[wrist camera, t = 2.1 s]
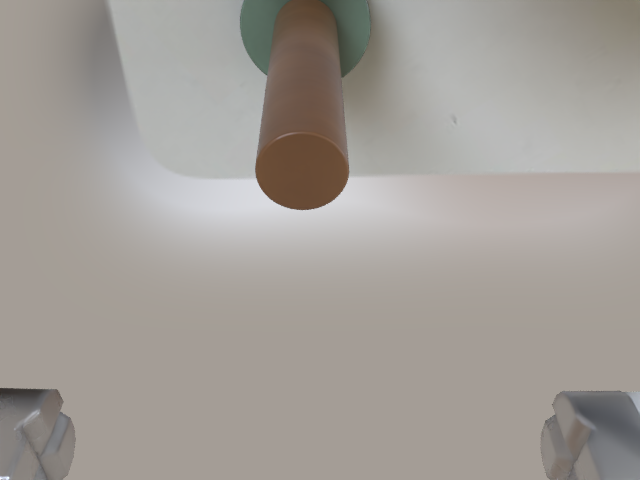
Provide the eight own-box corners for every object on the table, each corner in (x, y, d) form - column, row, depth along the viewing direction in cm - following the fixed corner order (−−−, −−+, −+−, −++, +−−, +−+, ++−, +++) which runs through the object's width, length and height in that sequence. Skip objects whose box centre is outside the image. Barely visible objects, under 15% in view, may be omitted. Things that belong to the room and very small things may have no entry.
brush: (248, 68, 26) (213, 248, 17) (240, -57, 23) (191, 81, 14) (363, 69, 26) (391, 248, 17) (371, -56, 23) (410, 82, 14)
